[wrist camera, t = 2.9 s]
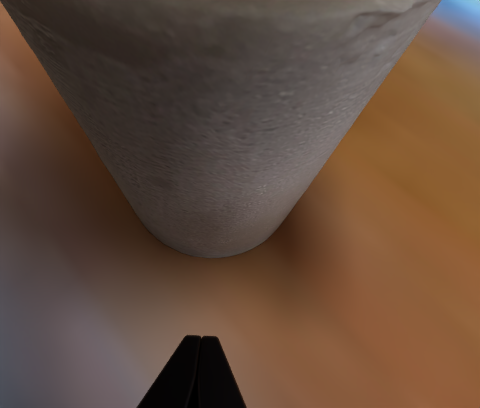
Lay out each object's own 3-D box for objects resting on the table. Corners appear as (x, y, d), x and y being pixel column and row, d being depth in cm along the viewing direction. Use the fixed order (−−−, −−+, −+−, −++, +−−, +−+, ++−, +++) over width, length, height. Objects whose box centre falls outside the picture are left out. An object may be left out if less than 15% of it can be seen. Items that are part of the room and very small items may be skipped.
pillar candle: (97, 172, 17) (-365, -448, 3) (221, 90, 20) (244, -408, 7) (207, 299, 15) (182, 48, 1) (327, 186, 18) (690, -241, 4)
